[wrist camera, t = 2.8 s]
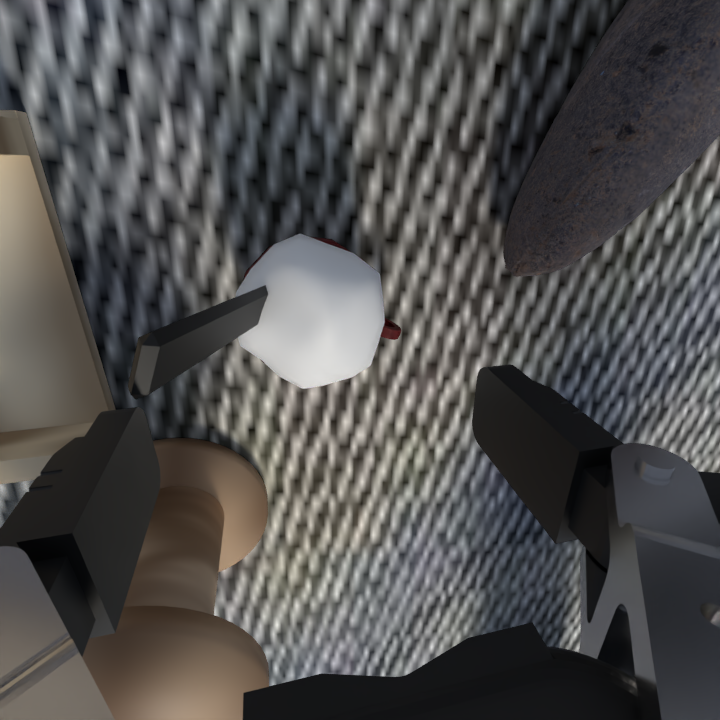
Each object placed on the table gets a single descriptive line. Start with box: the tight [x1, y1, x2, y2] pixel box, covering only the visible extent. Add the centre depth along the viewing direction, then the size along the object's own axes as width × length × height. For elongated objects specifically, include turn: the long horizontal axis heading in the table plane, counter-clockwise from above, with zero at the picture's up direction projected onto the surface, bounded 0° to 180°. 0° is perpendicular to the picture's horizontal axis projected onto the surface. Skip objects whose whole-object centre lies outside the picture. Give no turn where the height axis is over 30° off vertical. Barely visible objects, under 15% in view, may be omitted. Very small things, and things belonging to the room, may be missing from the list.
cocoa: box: [128, 234, 401, 399], centre depth 16 cm, size 10×6×12 cm, turn 46°
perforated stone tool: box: [504, 0, 720, 277], centre depth 18 cm, size 15×5×7 cm, turn 147°
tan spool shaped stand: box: [82, 438, 269, 720], centre depth 20 cm, size 10×10×11 cm
